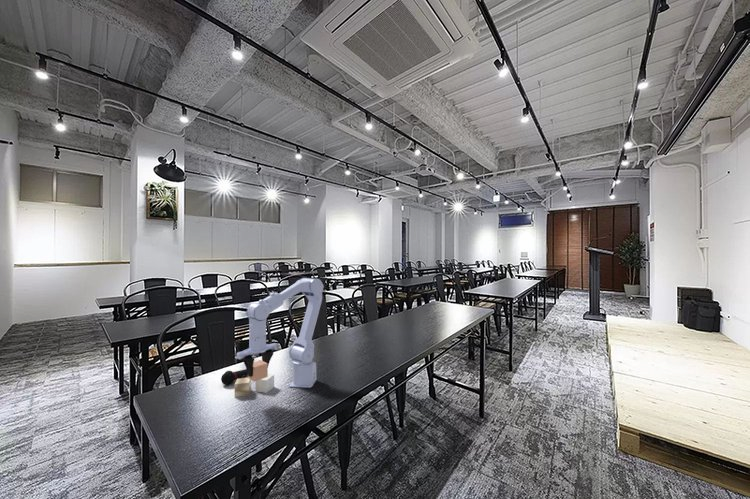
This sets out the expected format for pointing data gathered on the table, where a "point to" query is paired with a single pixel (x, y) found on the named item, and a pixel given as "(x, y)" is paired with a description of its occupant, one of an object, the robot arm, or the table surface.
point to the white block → (265, 384)
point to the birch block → (242, 387)
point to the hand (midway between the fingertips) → (257, 373)
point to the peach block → (259, 370)
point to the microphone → (233, 376)
